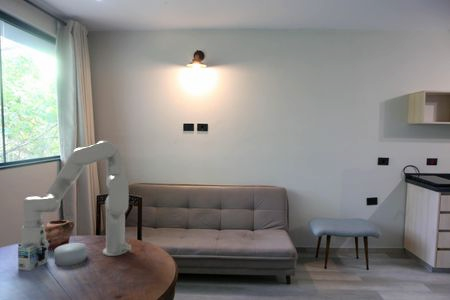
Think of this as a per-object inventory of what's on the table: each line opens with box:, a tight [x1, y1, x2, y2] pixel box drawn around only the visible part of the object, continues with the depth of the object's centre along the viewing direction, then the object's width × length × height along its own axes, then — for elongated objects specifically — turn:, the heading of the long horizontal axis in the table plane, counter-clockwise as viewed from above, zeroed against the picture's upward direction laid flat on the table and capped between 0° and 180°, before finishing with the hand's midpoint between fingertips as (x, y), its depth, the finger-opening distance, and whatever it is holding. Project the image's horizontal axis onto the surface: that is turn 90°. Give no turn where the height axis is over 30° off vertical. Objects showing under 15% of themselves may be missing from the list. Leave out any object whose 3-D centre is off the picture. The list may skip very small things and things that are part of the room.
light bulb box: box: [17, 240, 49, 272], centre depth 137 cm, size 11×7×11 cm, turn 168°
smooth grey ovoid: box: [53, 242, 87, 267], centre depth 145 cm, size 14×14×6 cm
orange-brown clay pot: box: [44, 219, 75, 250], centre depth 162 cm, size 20×12×14 cm, turn 170°
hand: (33, 259), depth 137 cm, fingers open, 8 cm apart
